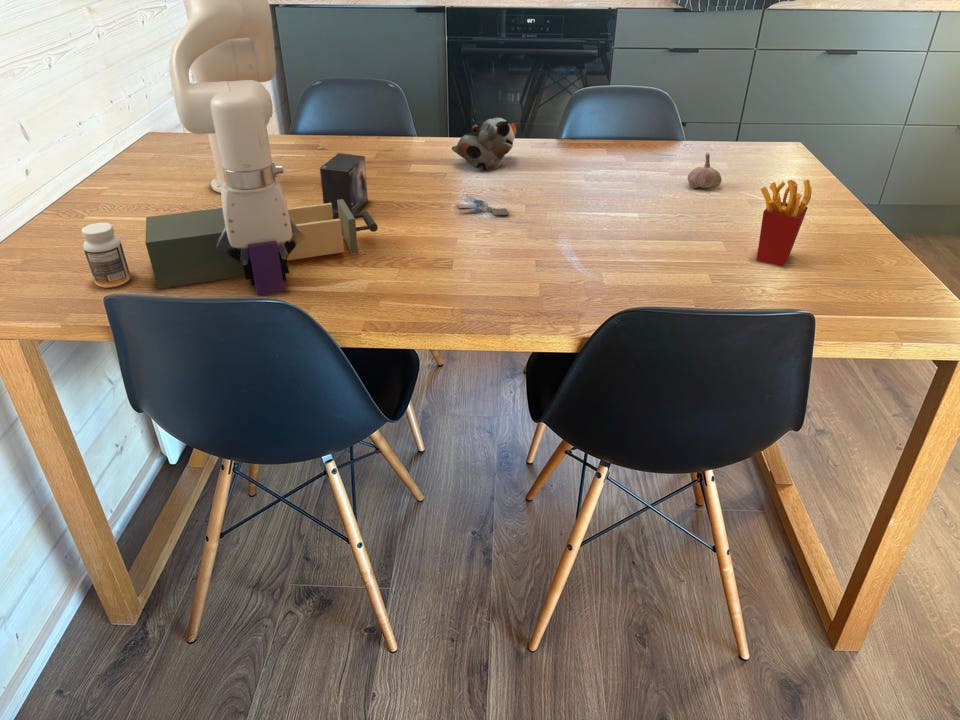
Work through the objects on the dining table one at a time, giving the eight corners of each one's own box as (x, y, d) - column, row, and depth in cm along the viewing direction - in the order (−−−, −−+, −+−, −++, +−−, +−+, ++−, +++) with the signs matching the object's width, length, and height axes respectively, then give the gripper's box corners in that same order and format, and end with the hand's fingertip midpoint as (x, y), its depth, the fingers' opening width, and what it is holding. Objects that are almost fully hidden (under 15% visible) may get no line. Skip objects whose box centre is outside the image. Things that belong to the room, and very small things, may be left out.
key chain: (514, 213, 148) (514, 209, 148) (488, 224, 143) (488, 220, 143) (467, 196, 156) (467, 193, 156) (440, 206, 151) (440, 203, 151)
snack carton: (253, 280, 122) (244, 232, 117) (280, 276, 123) (272, 229, 118) (257, 296, 117) (248, 246, 112) (285, 291, 119) (276, 242, 114)
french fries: (787, 270, 127) (809, 190, 119) (741, 259, 131) (760, 181, 122) (797, 252, 133) (819, 176, 125) (753, 242, 137) (772, 167, 129)
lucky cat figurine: (470, 151, 183) (497, 103, 177) (505, 178, 181) (533, 130, 174) (442, 149, 171) (469, 97, 164) (478, 177, 168) (508, 126, 162)
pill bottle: (102, 274, 123) (85, 221, 118) (136, 273, 124) (120, 220, 118) (90, 289, 119) (71, 235, 113) (125, 288, 119) (108, 234, 114)
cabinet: (267, 246, 134) (260, 203, 129) (275, 271, 125) (268, 226, 120) (158, 261, 128) (146, 216, 123) (158, 289, 119) (145, 242, 114)
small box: (353, 220, 145) (348, 170, 139) (323, 217, 146) (317, 168, 140) (369, 202, 153) (366, 154, 148) (341, 199, 154) (336, 152, 149)
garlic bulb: (684, 189, 162) (690, 155, 157) (688, 179, 167) (694, 146, 163) (718, 194, 159) (725, 159, 155) (721, 184, 165) (728, 150, 161)
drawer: (368, 229, 139) (365, 196, 135) (381, 249, 131) (379, 215, 127) (249, 245, 132) (243, 211, 128) (255, 268, 124) (248, 232, 120)
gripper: (300, 163, 115) (313, 263, 125) (191, 174, 110) (215, 278, 120) (307, 177, 109) (321, 281, 119) (193, 190, 104) (218, 298, 114)
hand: (267, 279), depth 120 cm, fingers closed on snack carton, 4 cm apart
